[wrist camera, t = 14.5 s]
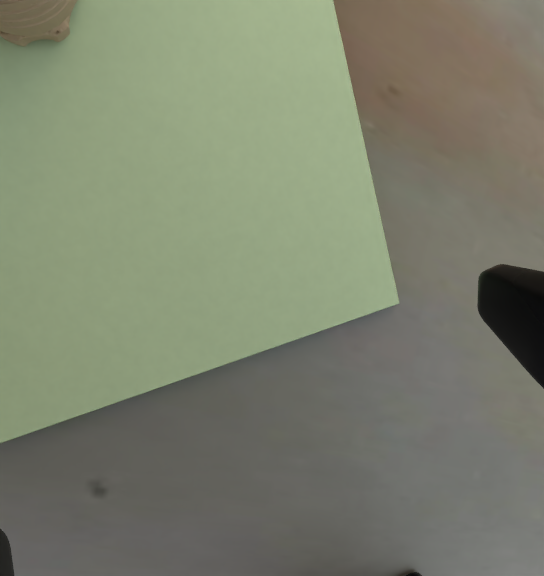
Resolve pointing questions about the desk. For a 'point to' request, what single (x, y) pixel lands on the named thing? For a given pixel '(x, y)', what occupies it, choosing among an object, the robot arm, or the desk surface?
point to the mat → (176, 199)
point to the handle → (35, 20)
